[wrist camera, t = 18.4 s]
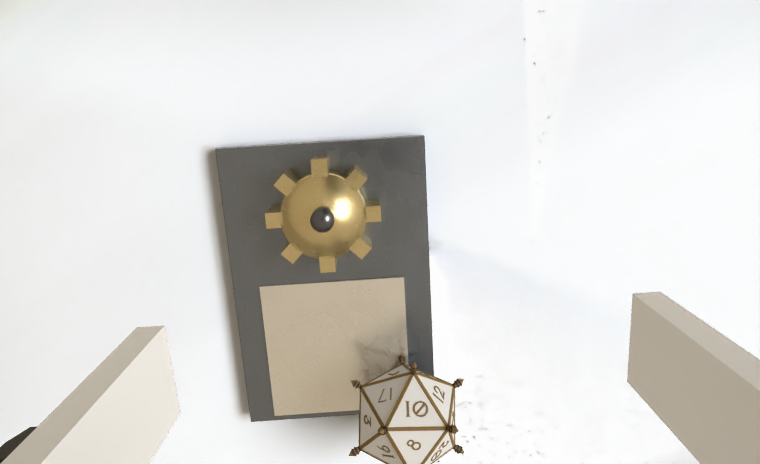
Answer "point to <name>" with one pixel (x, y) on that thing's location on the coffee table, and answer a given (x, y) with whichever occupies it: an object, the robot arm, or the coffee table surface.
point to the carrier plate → (327, 268)
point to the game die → (407, 416)
